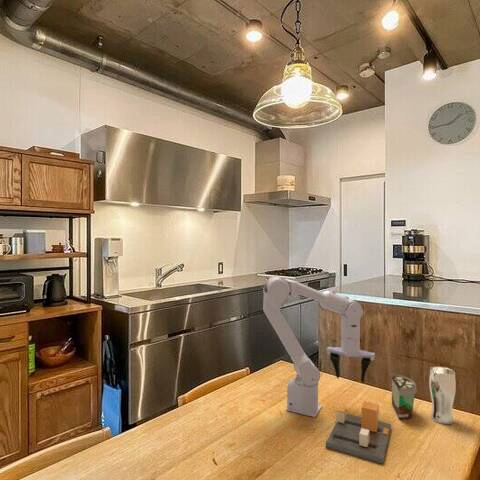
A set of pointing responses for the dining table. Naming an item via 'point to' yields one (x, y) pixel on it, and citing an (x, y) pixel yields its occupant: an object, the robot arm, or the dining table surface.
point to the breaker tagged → (341, 414)
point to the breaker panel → (348, 439)
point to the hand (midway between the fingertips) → (350, 378)
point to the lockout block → (370, 416)
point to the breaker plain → (364, 437)
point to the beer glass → (442, 394)
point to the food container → (403, 396)
